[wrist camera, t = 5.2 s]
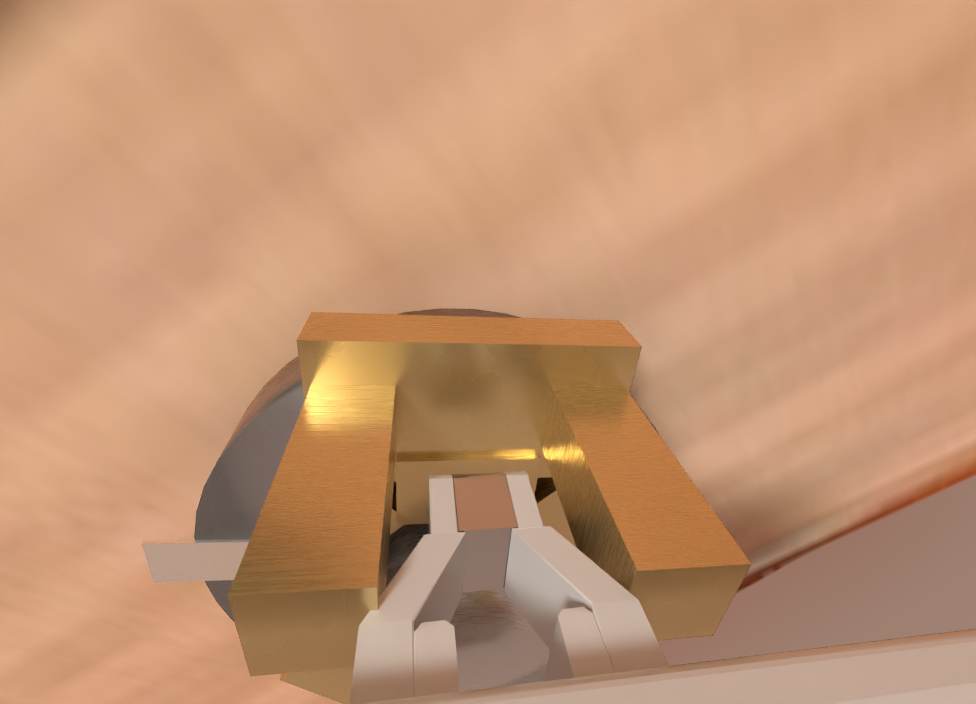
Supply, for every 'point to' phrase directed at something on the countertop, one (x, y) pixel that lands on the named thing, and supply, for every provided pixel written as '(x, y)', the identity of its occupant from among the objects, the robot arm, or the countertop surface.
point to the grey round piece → (479, 615)
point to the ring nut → (465, 450)
